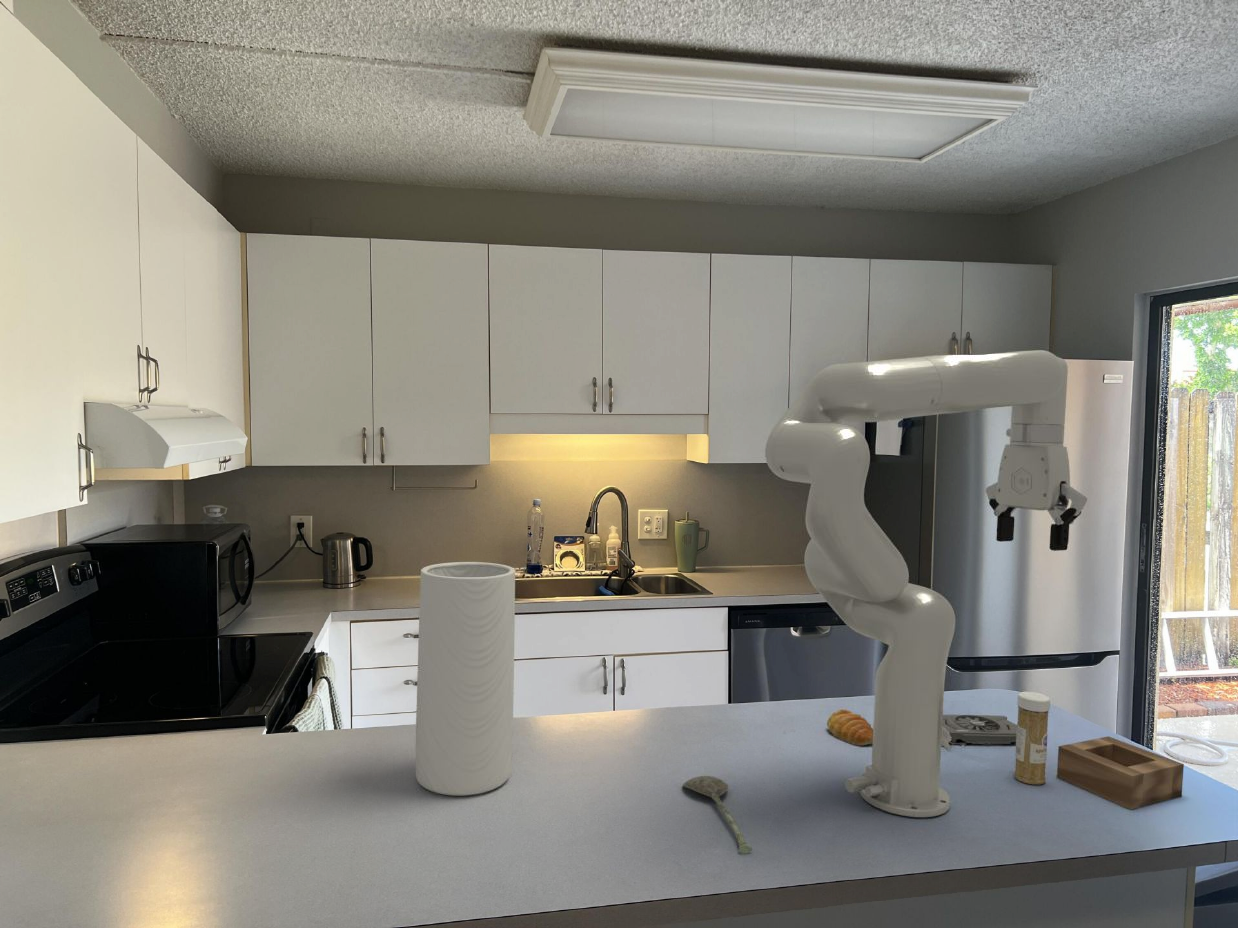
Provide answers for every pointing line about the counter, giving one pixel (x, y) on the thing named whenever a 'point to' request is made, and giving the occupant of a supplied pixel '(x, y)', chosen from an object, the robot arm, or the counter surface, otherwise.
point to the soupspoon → (714, 790)
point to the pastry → (850, 727)
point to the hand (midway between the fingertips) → (1030, 545)
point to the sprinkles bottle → (1031, 737)
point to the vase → (465, 677)
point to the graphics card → (977, 730)
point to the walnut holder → (1120, 772)
